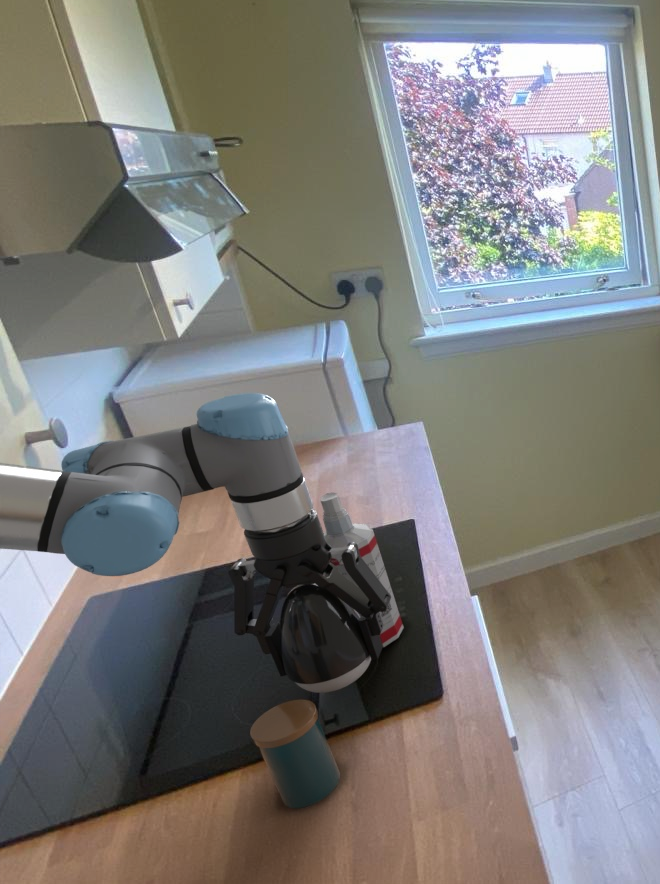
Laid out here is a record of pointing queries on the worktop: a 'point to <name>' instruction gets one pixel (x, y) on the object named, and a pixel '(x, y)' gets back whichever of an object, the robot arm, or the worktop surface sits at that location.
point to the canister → (296, 752)
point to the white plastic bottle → (361, 534)
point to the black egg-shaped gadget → (321, 640)
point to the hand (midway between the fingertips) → (333, 660)
